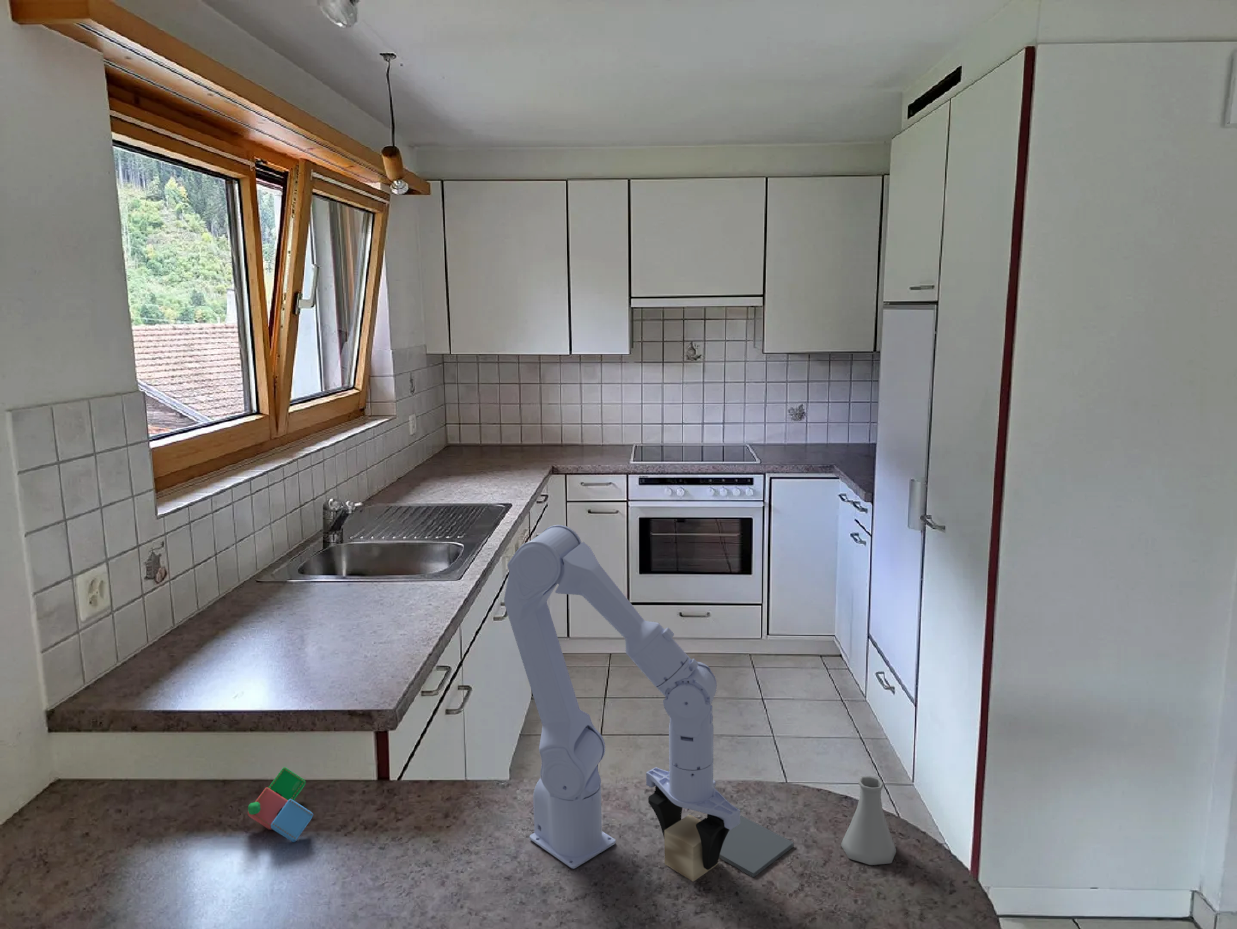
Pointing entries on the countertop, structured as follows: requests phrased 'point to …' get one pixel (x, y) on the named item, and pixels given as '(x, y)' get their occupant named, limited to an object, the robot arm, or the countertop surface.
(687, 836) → the block
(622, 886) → the countertop surface
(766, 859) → the coaster
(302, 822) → the building blocks
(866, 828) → the flask
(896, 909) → the countertop surface
